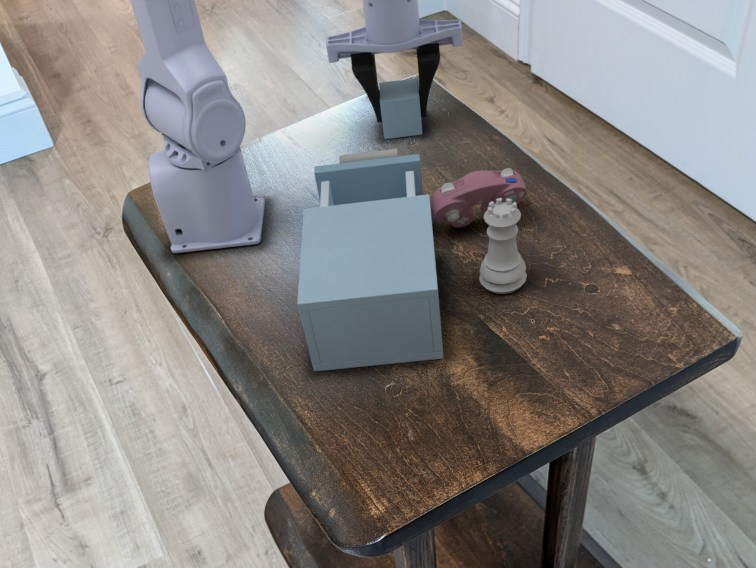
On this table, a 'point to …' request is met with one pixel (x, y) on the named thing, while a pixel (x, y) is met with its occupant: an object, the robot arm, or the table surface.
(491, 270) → the rook chess piece
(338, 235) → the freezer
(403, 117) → the ice block
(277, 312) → the table surface
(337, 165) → the freezer drawer
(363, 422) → the table surface
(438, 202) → the pink toy car
